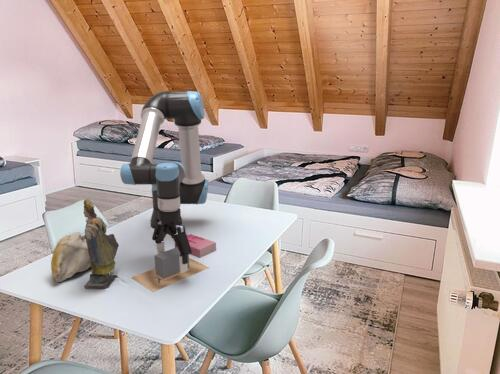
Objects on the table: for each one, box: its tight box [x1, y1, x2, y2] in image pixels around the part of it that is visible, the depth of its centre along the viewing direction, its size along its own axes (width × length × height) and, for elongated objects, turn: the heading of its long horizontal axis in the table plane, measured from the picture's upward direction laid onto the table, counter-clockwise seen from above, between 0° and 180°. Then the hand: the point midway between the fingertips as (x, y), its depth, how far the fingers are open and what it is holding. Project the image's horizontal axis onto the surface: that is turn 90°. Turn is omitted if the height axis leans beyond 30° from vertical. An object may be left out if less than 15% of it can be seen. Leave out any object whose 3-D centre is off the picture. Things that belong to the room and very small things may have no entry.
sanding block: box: [154, 247, 190, 281], centre depth 140 cm, size 11×5×8 cm, turn 136°
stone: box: [50, 231, 91, 283], centre depth 145 cm, size 15×14×25 cm
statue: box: [80, 198, 120, 290], centre depth 134 cm, size 15×11×30 cm
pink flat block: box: [172, 233, 217, 258], centre depth 162 cm, size 9×5×20 cm
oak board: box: [130, 257, 210, 293], centre depth 141 cm, size 24×14×1 cm, turn 136°
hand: (172, 265), depth 140 cm, fingers open, 13 cm apart
